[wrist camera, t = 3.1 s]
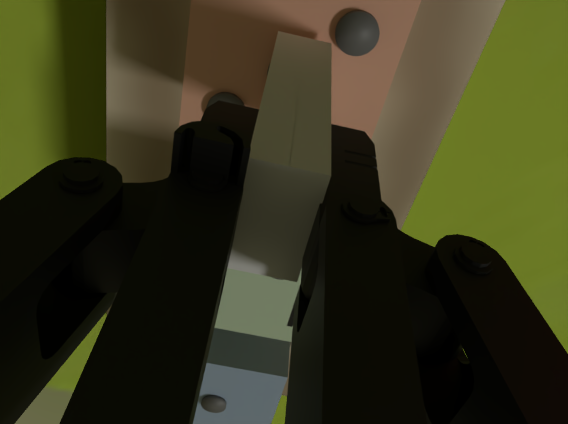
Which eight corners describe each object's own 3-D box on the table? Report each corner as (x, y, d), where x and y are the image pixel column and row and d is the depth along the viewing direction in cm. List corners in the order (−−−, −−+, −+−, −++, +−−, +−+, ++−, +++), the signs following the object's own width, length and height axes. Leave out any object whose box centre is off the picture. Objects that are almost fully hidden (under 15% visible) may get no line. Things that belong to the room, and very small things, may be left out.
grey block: (167, 359, 30) (148, 427, 27) (176, 288, 27) (154, 357, 23) (270, 377, 31) (263, 447, 27) (292, 310, 27) (287, 381, 24)
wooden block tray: (125, 317, 34) (107, 363, 31) (140, -178, 18) (106, -175, 15) (322, 354, 35) (322, 401, 32) (504, -85, 19) (534, -66, 16)
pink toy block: (201, 86, 20) (176, 142, 17) (222, -89, 16) (195, -62, 13) (353, 120, 21) (357, 180, 17) (406, -43, 17) (425, -6, 14)
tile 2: (180, 252, 25) (158, 321, 22) (192, 146, 21) (168, 209, 18) (303, 276, 25) (299, 347, 22) (336, 177, 22) (337, 243, 18)
